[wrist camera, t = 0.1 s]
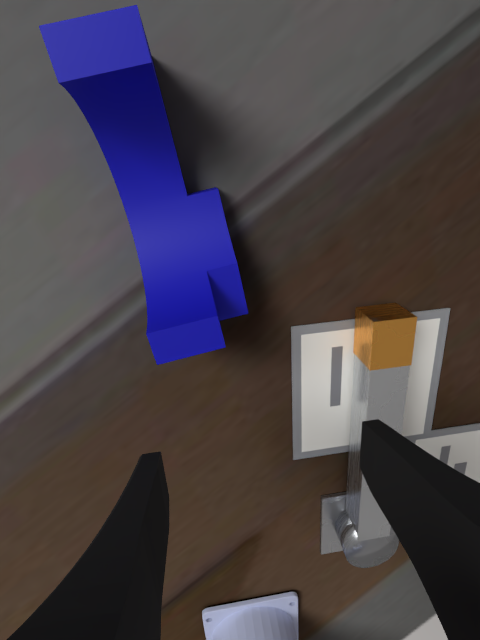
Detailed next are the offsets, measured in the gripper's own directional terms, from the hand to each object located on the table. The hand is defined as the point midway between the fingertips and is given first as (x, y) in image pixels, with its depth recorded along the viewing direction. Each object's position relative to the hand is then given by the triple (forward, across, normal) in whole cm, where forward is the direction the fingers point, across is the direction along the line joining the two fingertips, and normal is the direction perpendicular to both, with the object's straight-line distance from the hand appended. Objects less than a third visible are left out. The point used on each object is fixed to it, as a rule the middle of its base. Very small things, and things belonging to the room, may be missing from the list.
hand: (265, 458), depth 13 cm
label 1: (+10, -9, +5) cm, 14 cm away
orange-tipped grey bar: (+10, -9, +9) cm, 16 cm away
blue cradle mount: (+10, +2, -8) cm, 14 cm away
